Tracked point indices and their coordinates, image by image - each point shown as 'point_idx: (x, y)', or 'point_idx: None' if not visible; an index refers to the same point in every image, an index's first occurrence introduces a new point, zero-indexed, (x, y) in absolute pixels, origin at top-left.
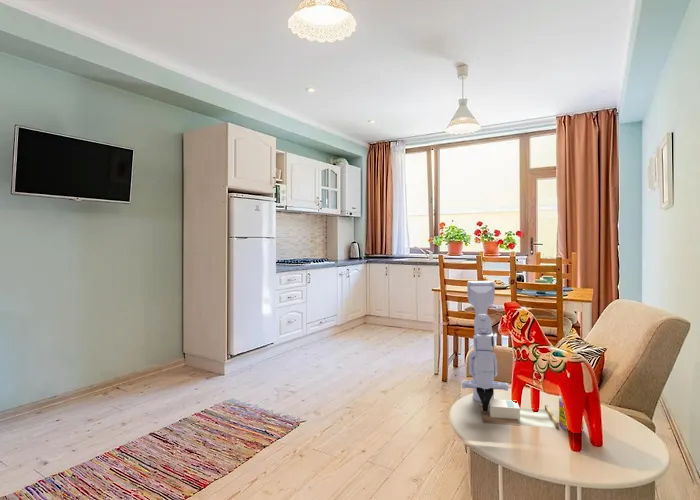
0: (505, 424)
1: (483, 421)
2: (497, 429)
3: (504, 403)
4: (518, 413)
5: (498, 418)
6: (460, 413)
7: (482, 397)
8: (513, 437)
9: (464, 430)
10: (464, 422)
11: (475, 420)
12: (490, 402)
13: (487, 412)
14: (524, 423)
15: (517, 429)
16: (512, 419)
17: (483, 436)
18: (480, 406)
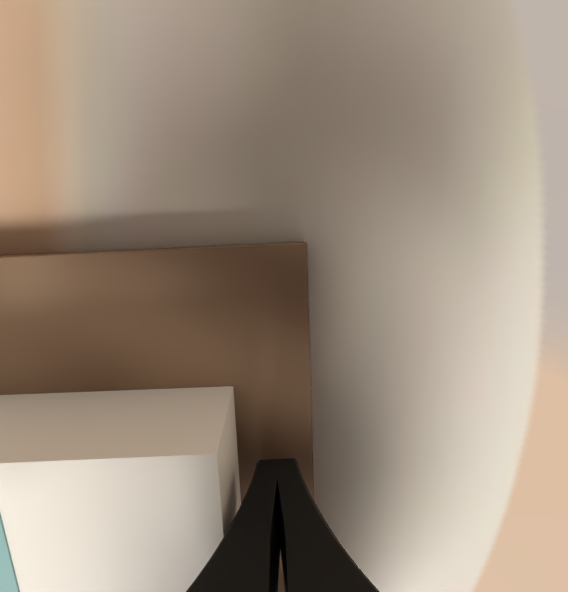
0: (96, 254)
1: (304, 277)
2: (182, 196)
3: (44, 572)
4: None
5: (161, 372)
6: (474, 450)
7: (326, 587)
8: (34, 42)
9: (485, 109)
10: (463, 284)
11: (364, 343)
12: None
13: None
14: None
15: (5, 234)
16: (34, 377)
17: (319, 3)
18: None
